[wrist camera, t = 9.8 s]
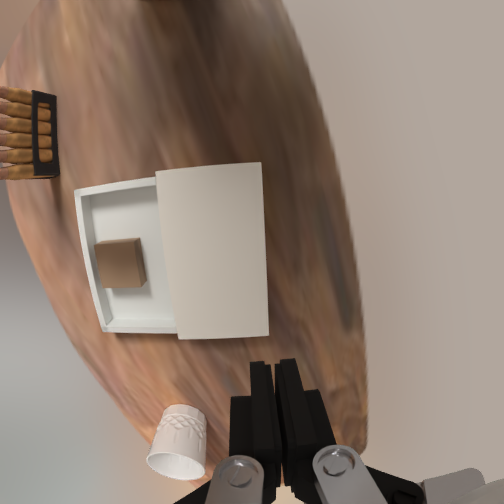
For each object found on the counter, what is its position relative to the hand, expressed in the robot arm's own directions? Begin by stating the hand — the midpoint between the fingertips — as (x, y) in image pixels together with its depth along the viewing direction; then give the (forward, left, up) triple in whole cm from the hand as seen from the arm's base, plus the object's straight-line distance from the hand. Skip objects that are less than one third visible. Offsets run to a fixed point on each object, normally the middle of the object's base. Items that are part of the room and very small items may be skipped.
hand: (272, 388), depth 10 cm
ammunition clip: (-16, -24, -22) cm, 36 cm away
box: (0, -14, -21) cm, 26 cm away
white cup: (+26, -12, -22) cm, 36 cm away
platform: (0, -4, -21) cm, 22 cm away
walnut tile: (+1, -15, -19) cm, 24 cm away
